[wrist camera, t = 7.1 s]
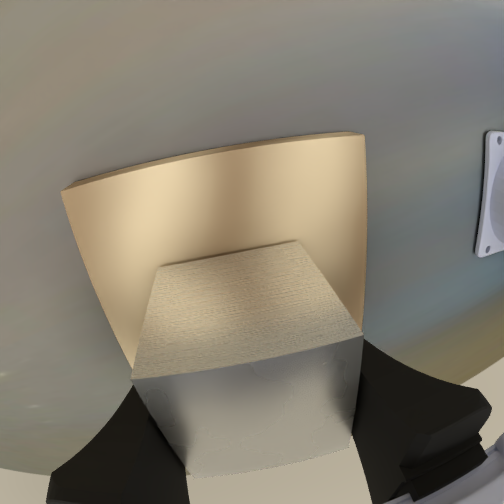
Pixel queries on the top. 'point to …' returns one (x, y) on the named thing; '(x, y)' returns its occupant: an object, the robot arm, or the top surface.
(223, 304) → the wood-grain grey cube
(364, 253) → the tan square panel
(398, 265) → the top surface
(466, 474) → the robot arm
